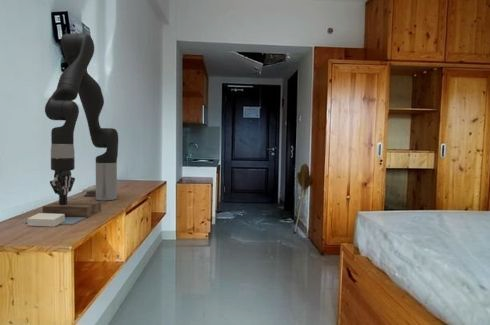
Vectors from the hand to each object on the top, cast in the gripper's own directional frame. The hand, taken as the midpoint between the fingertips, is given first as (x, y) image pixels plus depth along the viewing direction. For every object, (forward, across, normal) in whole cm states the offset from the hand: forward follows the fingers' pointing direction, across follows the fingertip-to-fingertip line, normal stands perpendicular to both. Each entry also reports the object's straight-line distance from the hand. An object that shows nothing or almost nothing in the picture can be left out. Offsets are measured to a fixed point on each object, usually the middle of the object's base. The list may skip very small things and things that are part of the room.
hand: (63, 204), depth 124 cm
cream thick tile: (+2, +9, -1) cm, 10 cm away
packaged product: (+2, -53, -5) cm, 53 cm away
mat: (+5, +4, 0) cm, 7 cm away
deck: (+5, -7, 0) cm, 8 cm away
